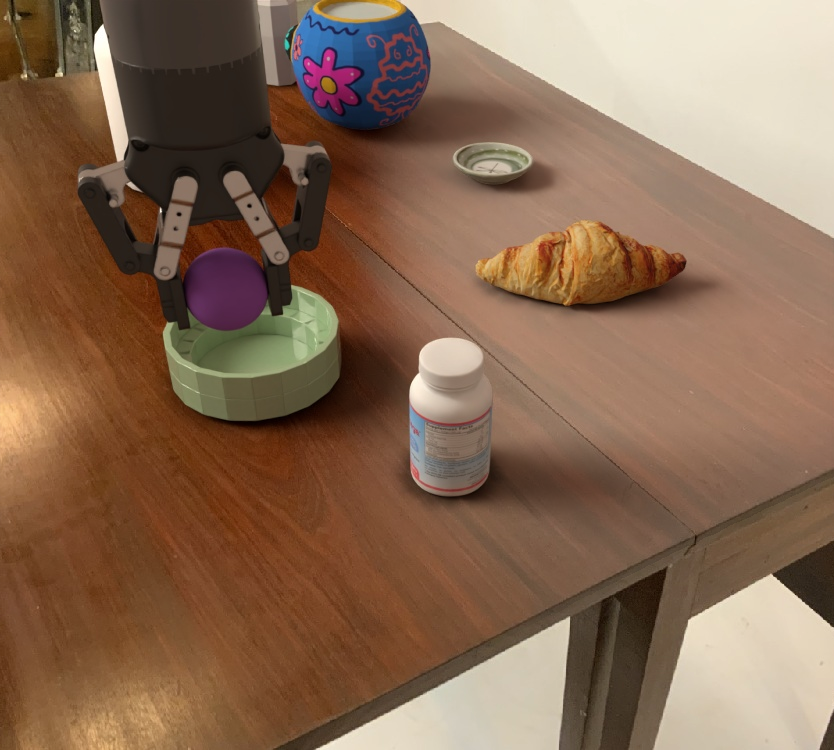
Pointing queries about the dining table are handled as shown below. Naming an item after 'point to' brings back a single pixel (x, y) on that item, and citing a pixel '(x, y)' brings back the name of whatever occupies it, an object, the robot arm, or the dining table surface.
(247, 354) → the bowl
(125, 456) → the dining table surface
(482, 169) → the saucer
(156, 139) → the robot arm
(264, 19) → the faceted bottle
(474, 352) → the pill bottle
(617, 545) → the dining table surface
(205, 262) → the ball
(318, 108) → the ceramic pot
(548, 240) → the croissant
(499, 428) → the dining table surface
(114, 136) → the white plastic jug
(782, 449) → the dining table surface
